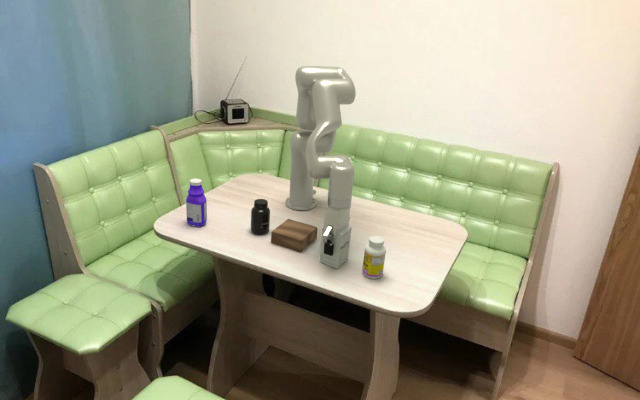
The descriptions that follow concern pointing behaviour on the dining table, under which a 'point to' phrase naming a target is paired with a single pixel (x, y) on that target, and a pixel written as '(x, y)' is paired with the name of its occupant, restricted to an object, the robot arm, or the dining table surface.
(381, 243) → the supplement bottle
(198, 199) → the bottle
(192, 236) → the dining table surface
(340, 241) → the supplement box
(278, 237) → the walnut block
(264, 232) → the supplement bottle
